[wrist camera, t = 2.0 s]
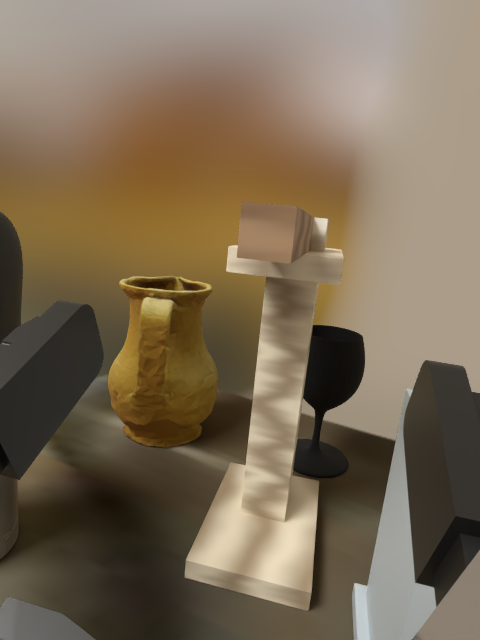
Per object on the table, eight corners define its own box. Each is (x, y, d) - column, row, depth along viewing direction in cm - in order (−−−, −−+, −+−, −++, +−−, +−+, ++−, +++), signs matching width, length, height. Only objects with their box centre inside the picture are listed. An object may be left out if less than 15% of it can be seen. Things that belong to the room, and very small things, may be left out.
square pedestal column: (184, 577, 41) (210, 244, 34) (229, 475, 58) (253, 240, 51) (308, 611, 39) (364, 261, 31) (317, 494, 56) (354, 251, 49)
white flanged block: (359, 774, 27) (424, 471, 22) (352, 595, 41) (391, 382, 36) (530, 831, 25) (642, 514, 20) (463, 624, 39) (521, 402, 34)
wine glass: (326, 438, 71) (344, 324, 67) (361, 474, 61) (384, 343, 57) (269, 443, 68) (283, 322, 63) (296, 481, 58) (316, 343, 54)
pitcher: (236, 422, 73) (242, 279, 66) (165, 478, 57) (165, 297, 51) (159, 397, 81) (158, 267, 75) (79, 440, 65) (69, 280, 59)
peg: (313, 266, 22) (321, 208, 22) (214, 255, 24) (219, 199, 23) (324, 250, 44) (328, 220, 43) (272, 244, 45) (275, 215, 44)
